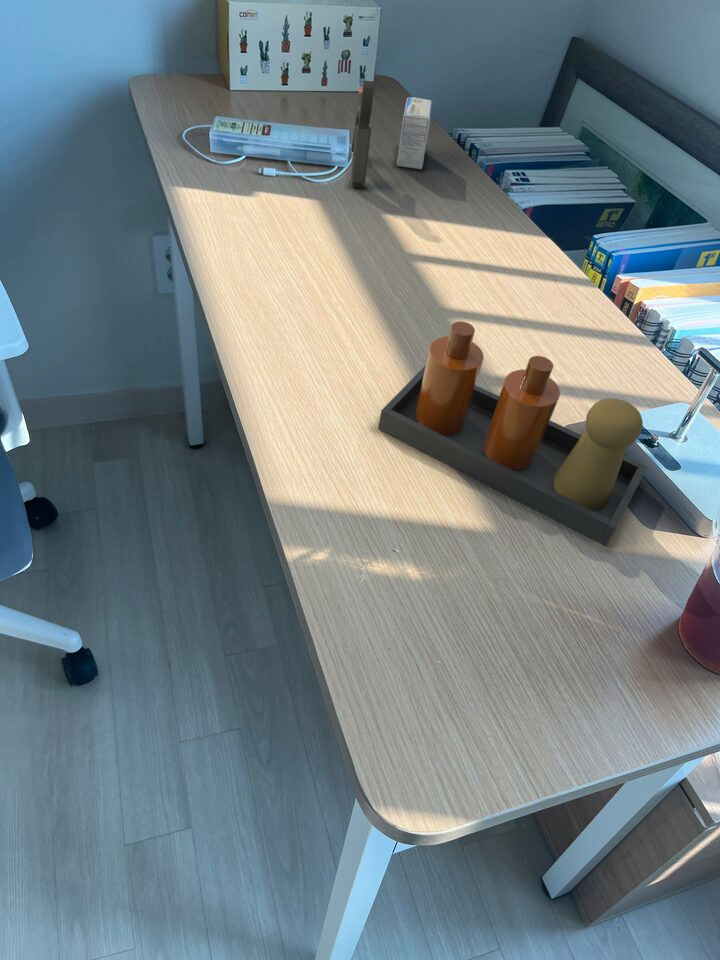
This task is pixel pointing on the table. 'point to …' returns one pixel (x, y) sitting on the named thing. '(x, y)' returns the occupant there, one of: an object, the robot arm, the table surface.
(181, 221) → the table surface
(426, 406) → the amber bottle far
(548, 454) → the tray
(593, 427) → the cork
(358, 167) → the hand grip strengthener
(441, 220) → the table surface
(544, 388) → the amber bottle middle
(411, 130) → the medicine box
